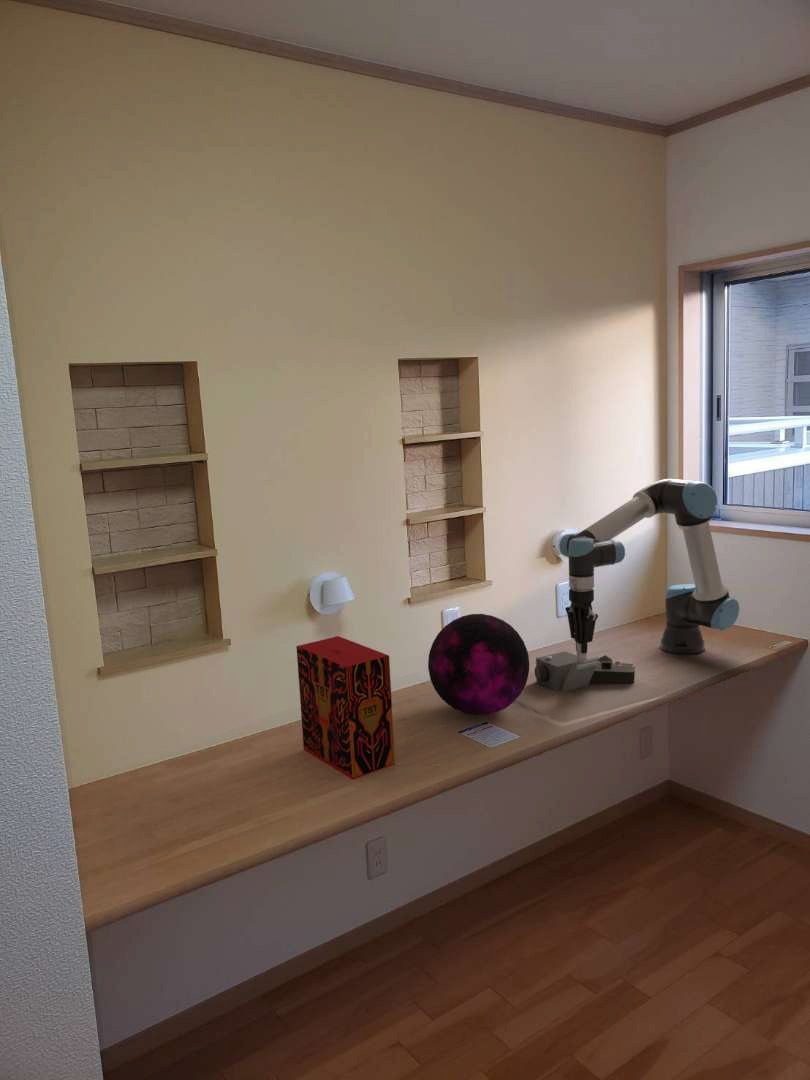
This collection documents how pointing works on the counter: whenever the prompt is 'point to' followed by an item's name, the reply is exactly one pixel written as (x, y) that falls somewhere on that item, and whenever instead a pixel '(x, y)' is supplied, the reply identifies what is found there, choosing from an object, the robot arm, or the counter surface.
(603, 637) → the counter surface
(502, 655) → the purple mottled sphere
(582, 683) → the side door
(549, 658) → the box
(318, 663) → the box
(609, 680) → the camera
